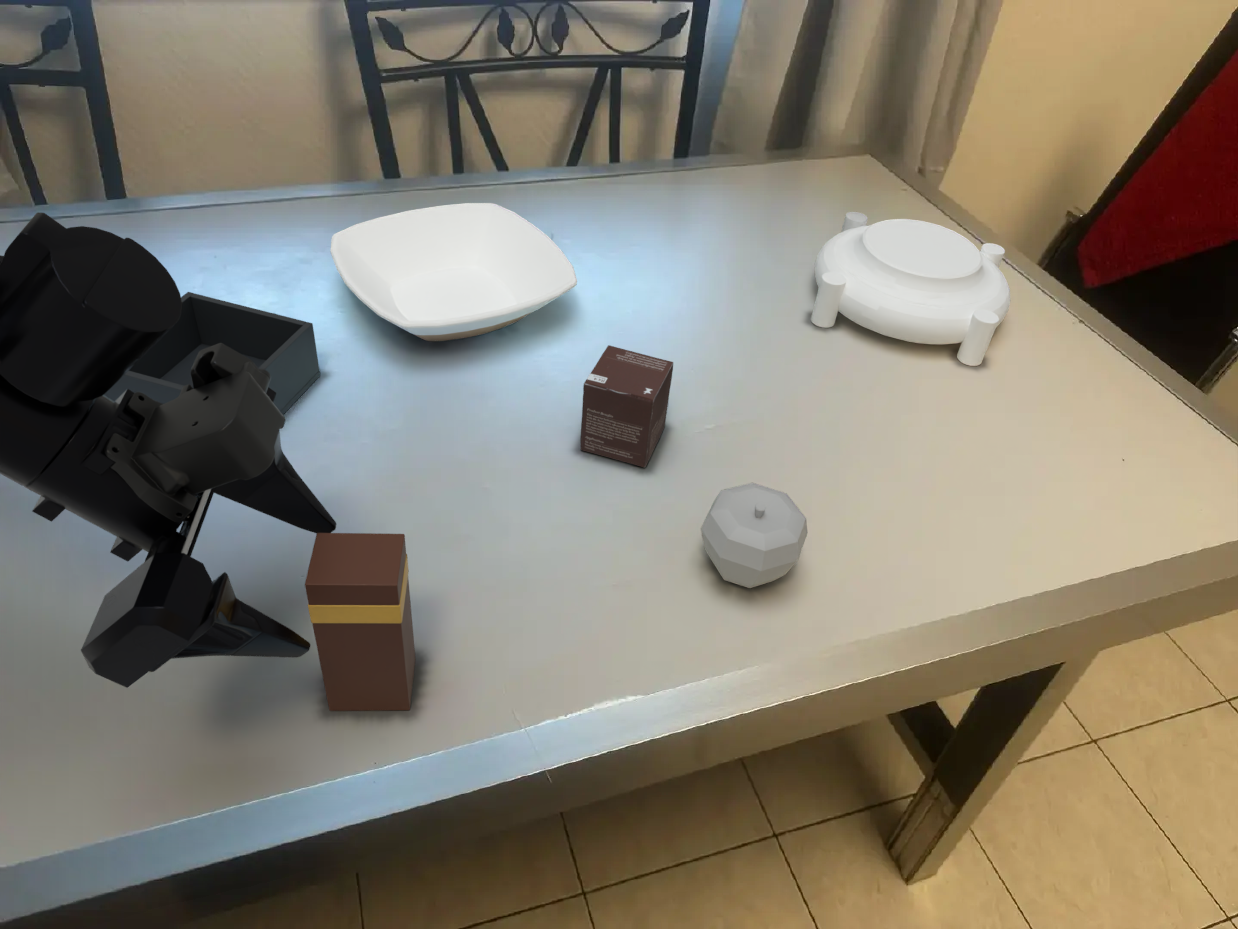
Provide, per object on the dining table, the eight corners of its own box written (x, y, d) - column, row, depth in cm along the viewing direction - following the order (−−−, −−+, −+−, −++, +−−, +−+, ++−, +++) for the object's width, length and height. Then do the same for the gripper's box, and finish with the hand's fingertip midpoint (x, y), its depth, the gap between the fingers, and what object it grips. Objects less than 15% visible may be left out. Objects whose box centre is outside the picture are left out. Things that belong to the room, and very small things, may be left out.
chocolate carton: (328, 711, 60) (303, 585, 52) (338, 658, 63) (316, 531, 55) (410, 711, 61) (398, 586, 53) (416, 658, 64) (405, 532, 56)
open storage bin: (110, 421, 79) (92, 365, 75) (200, 344, 88) (188, 291, 84) (242, 458, 77) (229, 403, 73) (320, 375, 86) (312, 323, 82)
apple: (736, 516, 77) (751, 455, 72) (817, 571, 73) (837, 509, 69) (671, 565, 72) (682, 503, 68) (753, 626, 68) (771, 564, 64)
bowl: (501, 235, 108) (501, 191, 104) (601, 332, 95) (605, 286, 91) (312, 275, 98) (306, 229, 95) (395, 390, 85) (390, 341, 82)
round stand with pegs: (919, 238, 116) (937, 183, 112) (1063, 344, 101) (1091, 285, 96) (753, 267, 107) (764, 208, 103) (882, 389, 92) (903, 326, 87)
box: (666, 429, 84) (676, 361, 79) (645, 470, 80) (654, 401, 75) (601, 411, 85) (607, 342, 81) (577, 451, 81) (582, 381, 76)
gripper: (82, 483, 37) (394, 657, 45) (206, 245, 51) (427, 412, 59) (-57, 614, 41) (251, 751, 50) (92, 362, 55) (313, 502, 63)
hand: (319, 587), depth 55 cm, fingers open, 9 cm apart
